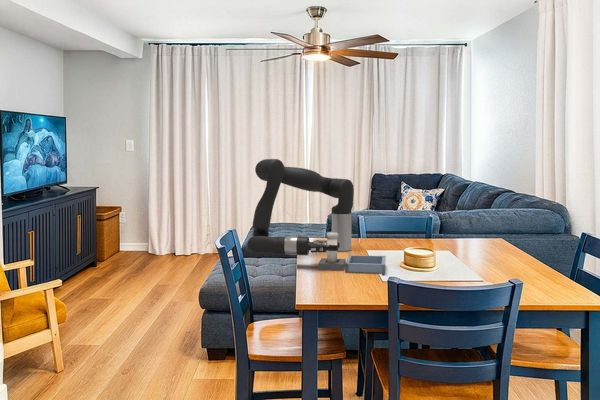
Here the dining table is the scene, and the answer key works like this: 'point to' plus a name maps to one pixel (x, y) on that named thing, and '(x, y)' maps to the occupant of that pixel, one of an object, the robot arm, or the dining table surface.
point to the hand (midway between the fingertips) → (338, 246)
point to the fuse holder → (331, 265)
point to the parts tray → (365, 264)
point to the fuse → (332, 241)
